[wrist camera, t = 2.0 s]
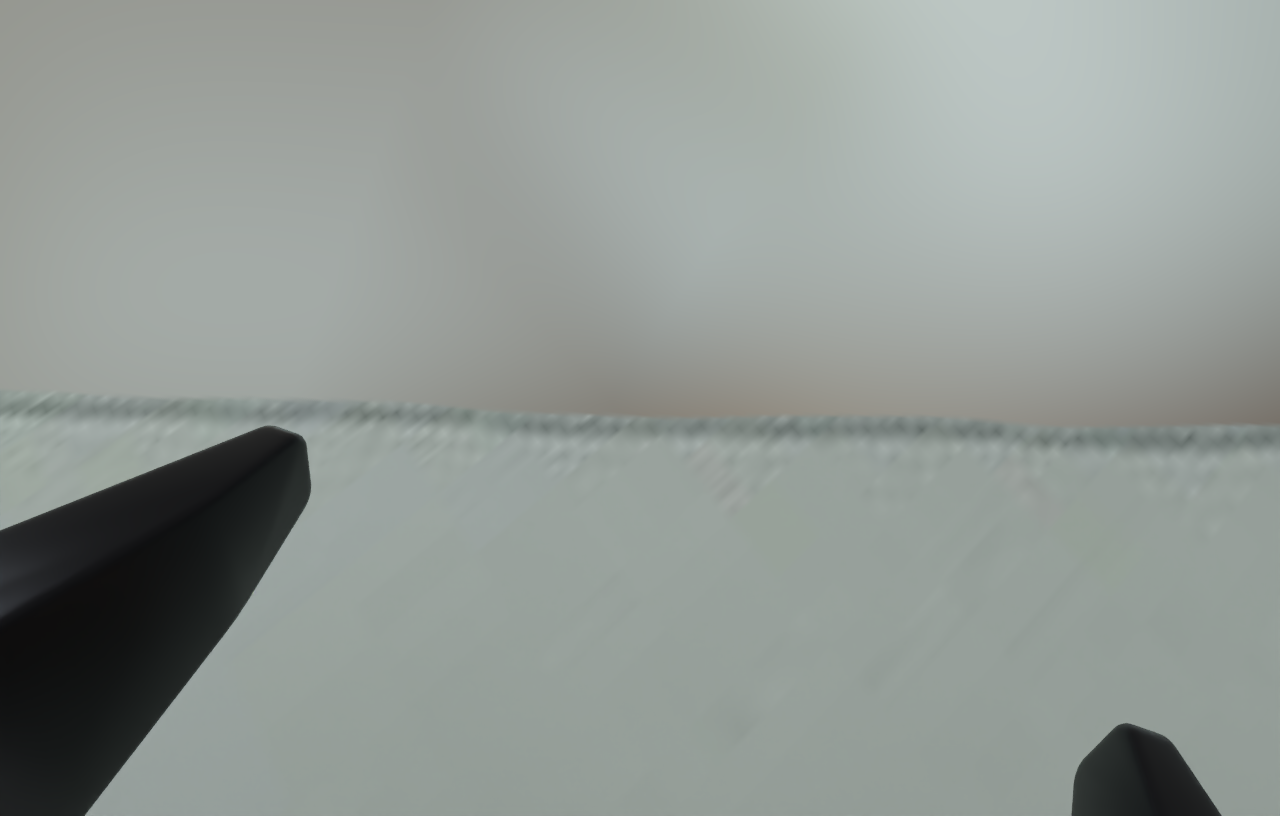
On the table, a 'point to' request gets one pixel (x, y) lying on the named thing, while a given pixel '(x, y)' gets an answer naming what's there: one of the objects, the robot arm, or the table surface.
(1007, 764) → the table surface
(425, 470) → the table surface
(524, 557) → the table surface
